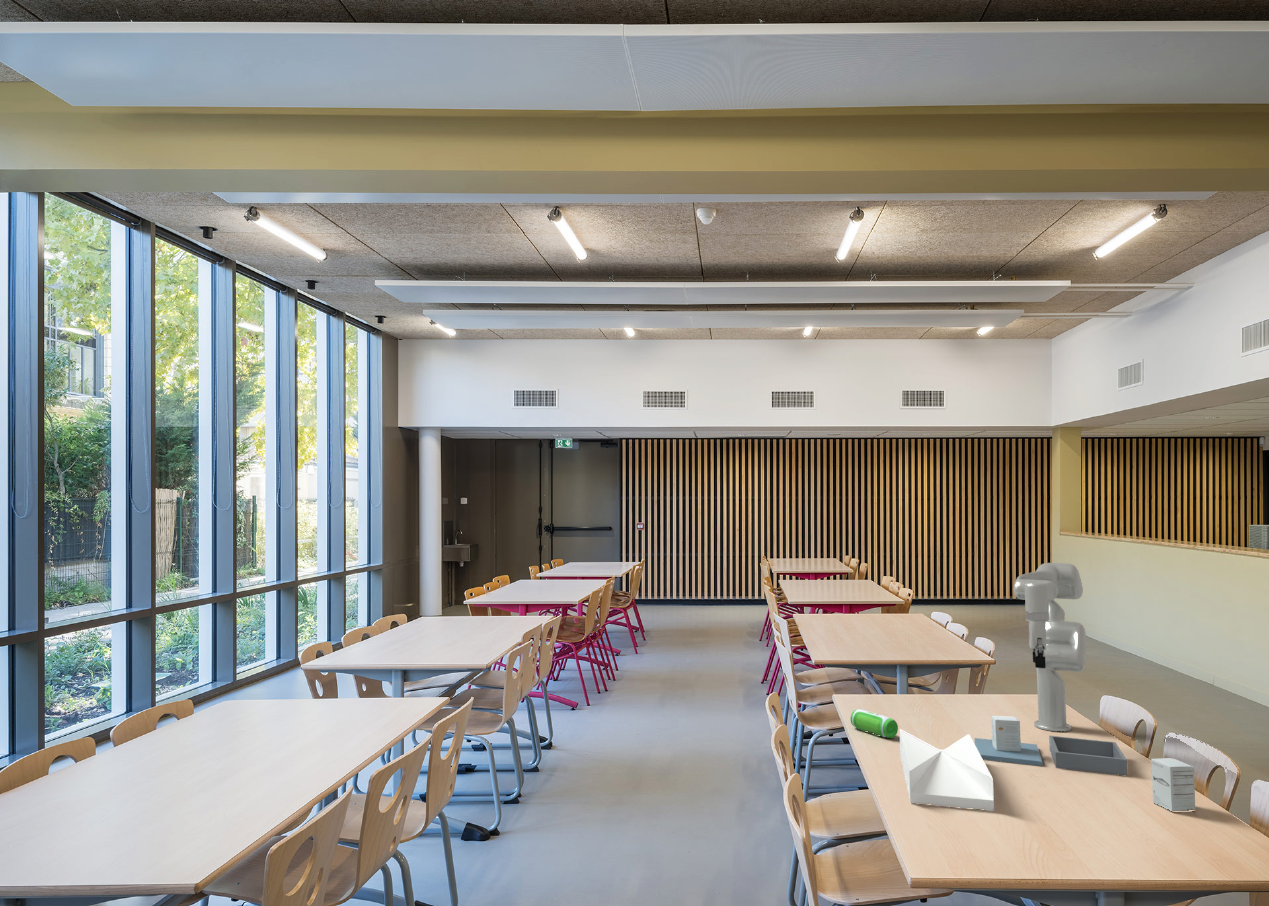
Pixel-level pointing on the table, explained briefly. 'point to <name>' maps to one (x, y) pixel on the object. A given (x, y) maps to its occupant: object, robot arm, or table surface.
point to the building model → (946, 774)
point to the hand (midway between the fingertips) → (1039, 665)
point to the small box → (1006, 733)
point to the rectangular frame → (1087, 755)
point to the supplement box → (1173, 784)
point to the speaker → (874, 723)
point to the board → (1009, 753)
